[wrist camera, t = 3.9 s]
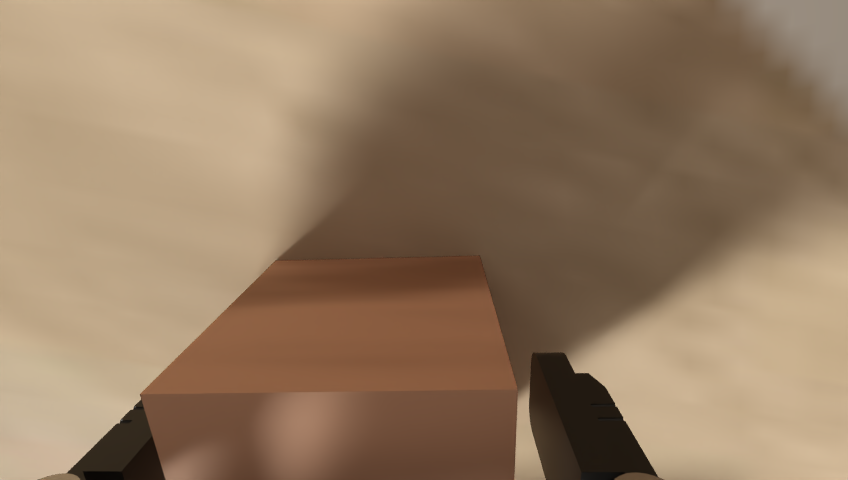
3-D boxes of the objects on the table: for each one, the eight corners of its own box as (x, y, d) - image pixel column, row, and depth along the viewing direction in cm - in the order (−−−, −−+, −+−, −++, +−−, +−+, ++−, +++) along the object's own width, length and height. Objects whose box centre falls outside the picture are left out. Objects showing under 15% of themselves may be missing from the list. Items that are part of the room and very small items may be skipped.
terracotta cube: (276, 259, 11) (140, 394, 6) (479, 254, 11) (517, 389, 6) (302, 423, 13) (212, 638, 8) (478, 421, 13) (507, 640, 8)
